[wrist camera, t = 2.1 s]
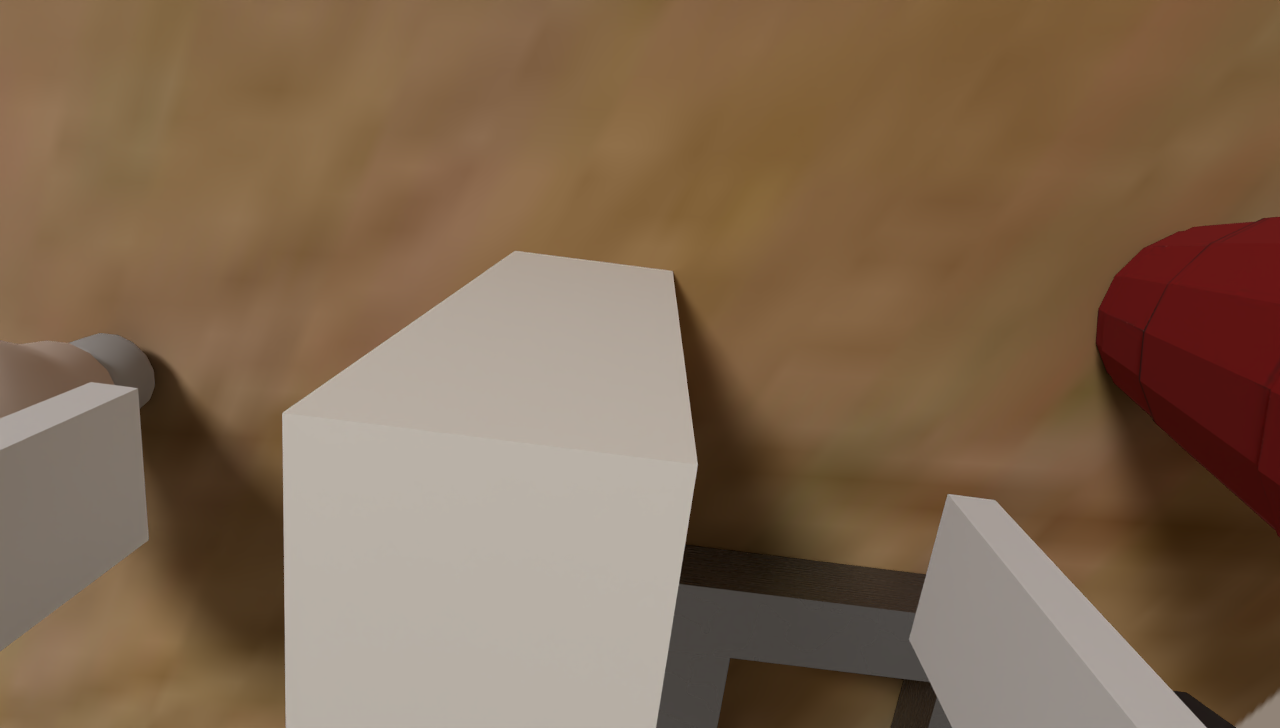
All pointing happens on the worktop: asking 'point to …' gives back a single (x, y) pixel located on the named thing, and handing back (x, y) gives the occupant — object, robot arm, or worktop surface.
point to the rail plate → (790, 629)
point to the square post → (494, 509)
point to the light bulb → (70, 369)
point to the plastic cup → (1206, 350)
